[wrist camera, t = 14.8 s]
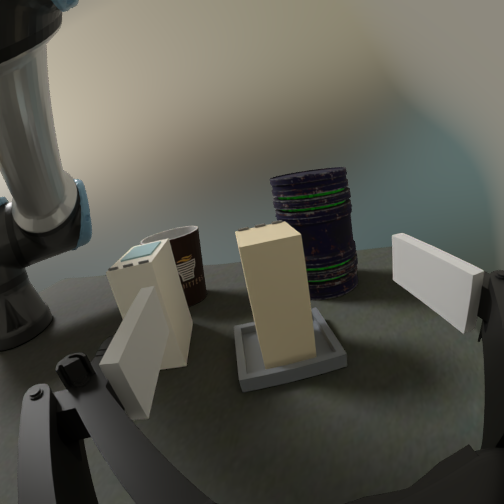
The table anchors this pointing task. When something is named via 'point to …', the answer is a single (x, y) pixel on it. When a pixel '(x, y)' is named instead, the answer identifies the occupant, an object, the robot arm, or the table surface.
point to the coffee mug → (186, 260)
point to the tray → (258, 377)
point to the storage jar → (320, 227)
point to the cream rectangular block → (278, 292)
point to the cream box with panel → (168, 290)
